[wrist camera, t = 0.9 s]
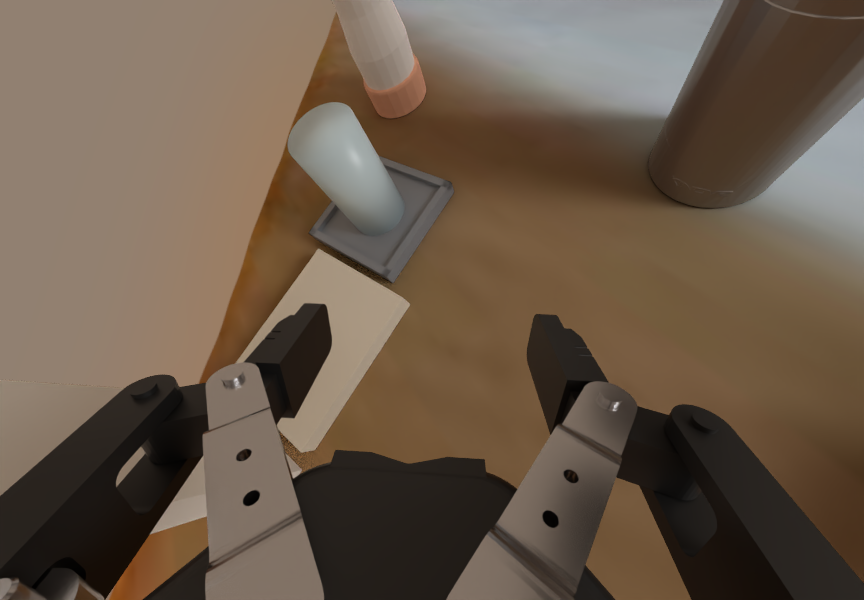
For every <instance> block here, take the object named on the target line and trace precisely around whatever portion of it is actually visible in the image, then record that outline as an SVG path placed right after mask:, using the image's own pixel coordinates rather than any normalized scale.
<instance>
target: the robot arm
mask: <svg viewBox="0 0 864 600" xmlns="http://www.w3.org/2000/svg"><path fill="white" fill-rule="evenodd" d="M863 98H864V0H724V1H723V3H722V5H721V7H720V9H719V11H718V13H717V15H716V18H715V20H714V22H713V24H712V26H711V28H710V30H709V32H708V34H707V36H706V39H705V41H704V43H703V45H702V47H701V49H700V51H699V53H698V55H697V57H696V60H695V62H694V64H693V66H692V68H691V70H690V72H689V74H688V76H687V78H686V81H685V83H684V85H683V87H682V89H681V91H680V93H679V95H678V97H677V99H676V102H675V104H674V106H673V108H672V110H671V112H670V114H669V116H668V118H667V120H666V122H665V124H664V126H663V128H662V130H661V133H660V135H659V137H658V139H657V141H656V143H655V145H654V147H653V149H652V152H651V154H650V158H649V172H650V175H651V178H652V180H653V181H654V183H655V184H656V186H657V187H658V188H659V189H660V190H661V191H662V192H663V193H665V194H666V195H668V196H669V197H671V198H673V199H674V200H677V201H679V202H682V203H684V204H687V205H692V206H697V207H704V208H721V207H730V206H734V205H738V204H742V203H744V202H746V201H749V200H751V199H753V198H755V197H756V196H758V195H759V194H761V193H762V192H763V191H765V190H766V189H767V188H768V187H769V186H770V185H771V184H772V183H773V182H774V181H775V180H776V179H777V178H778V177H780V176H781V175H782V174H783V173H784V172H785V171H786V170H787V169H788V168H789V167H790V166H791V165H792V164H793V163H794V162H795V161H796V160H798V159H799V158H800V157H801V156H802V155H803V154H804V153H805V152H806V151H807V150H809V149H810V148H811V147H812V146H813V145H814V144H815V143H816V142H817V141H818V140H819V139H820V138H821V137H822V136H823V135H824V134H825V133H827V132H828V131H829V130H830V129H831V128H832V127H833V126H834V125H835V124H836V123H837V122H838V121H839V120H840V119H841V118H842V117H844V116H845V115H846V114H847V113H848V112H849V111H850V110H851V109H852V108H853V107H854V106H855V105H856V104H857V103H858V102H859V101H861V100H862V99H863ZM331 346H332V334H331V328H330V322H329V316H328V310H327V307H326V305H325V304H316V303H304V304H303V305H302V306H301V307H300V309H299V310H298V311H297V312H296V314H295V315H289V316H288V317H286V318H284V319H283V320H281V321H279V322H278V323H277V324H276V325H275V327H274V328H273V329H272V330H271V332H269V333H268V335H267V336H266V337H265V339H263V340H262V342H261V343H260V344H259V345H258V346H257V347H256V348H255V350H254V351H253V352H252V353H251V354H250V355H249V356H248V358H247V359H246V360H245V361H244V362H243V363H236V364H232V365H229V366H226V367H224V368H222V369H220V370H218V371H217V372H215V373H214V374H213V375H212V376H211V377H210V378H209V379H208V381H207V383H202V384H196V385H190V386H184V387H179V386H178V384H177V382H176V380H175V378H174V377H172V376H170V375H155V376H150V377H147V378H144V379H141V380H139V381H137V382H134V383H132V384H131V385H129V386H127V387H126V388H124V389H123V390H122V391H120V392H119V393H118V394H117V395H116V396H115V397H113V398H112V399H111V400H110V401H109V402H108V403H107V404H105V405H104V406H103V407H102V408H101V409H100V410H98V411H97V412H96V413H95V414H94V415H93V416H92V417H90V418H89V419H88V420H87V421H86V422H85V423H84V424H82V425H81V426H80V427H79V428H78V429H77V430H75V431H74V432H73V433H72V434H71V435H70V436H69V437H67V438H66V439H65V440H64V441H63V442H62V443H60V444H59V445H58V446H57V447H56V448H55V449H54V450H52V451H51V452H50V453H49V454H48V455H47V456H46V457H44V458H43V459H42V460H41V461H40V462H39V463H37V464H36V465H35V466H34V467H33V468H32V469H31V470H29V471H28V472H27V473H26V474H25V475H24V476H22V477H21V478H20V479H19V480H18V481H17V482H16V483H14V484H13V485H12V486H11V487H10V488H9V489H8V490H6V491H5V492H4V493H3V494H2V495H1V496H0V600H105V599H106V598H107V596H108V595H109V593H110V592H111V590H112V589H113V587H114V586H115V584H116V583H117V581H118V580H119V579H120V577H121V576H122V574H123V573H124V571H125V570H126V568H127V567H128V565H129V564H130V562H131V561H132V559H133V558H134V557H135V555H136V554H137V552H138V551H139V549H140V548H141V546H142V545H143V543H144V542H145V540H146V539H147V537H148V536H149V534H150V533H151V532H152V530H153V529H154V527H155V526H156V524H157V523H158V521H159V520H160V518H161V517H162V515H163V514H164V512H165V511H166V509H167V508H168V507H169V505H170V504H171V502H172V501H173V499H174V498H175V496H176V495H177V493H178V492H179V490H180V489H181V487H182V486H183V485H184V483H185V482H186V480H187V479H188V477H189V476H190V474H191V473H192V471H193V470H194V468H195V467H196V465H197V464H198V462H199V461H200V460H201V458H202V457H203V455H204V472H205V489H206V507H207V524H208V541H209V546H208V547H207V548H206V549H205V550H203V551H202V552H201V553H200V554H198V555H197V556H196V557H195V558H193V559H192V560H191V561H190V562H189V563H187V564H186V565H185V566H184V567H182V568H181V569H180V570H179V571H177V572H176V573H175V574H174V575H172V576H171V577H170V578H169V579H168V580H166V581H165V582H164V583H163V584H161V585H160V586H159V587H158V588H156V589H155V590H154V591H153V592H151V593H150V594H149V595H148V596H147V597H145V598H144V599H143V600H615V599H614V598H613V596H612V595H611V594H610V593H609V592H608V591H607V589H606V588H605V587H604V586H603V585H602V584H601V583H600V581H599V580H598V579H597V578H596V577H595V576H594V575H593V573H592V572H591V571H590V570H589V569H588V568H587V566H586V565H585V564H586V561H587V558H588V556H589V553H590V550H591V547H592V544H593V541H594V538H595V536H596V533H597V530H598V527H599V524H600V521H601V519H602V516H603V513H604V510H605V507H606V504H607V501H608V499H609V496H610V493H611V490H612V487H613V484H614V481H615V479H616V477H617V478H620V479H623V480H626V481H628V482H631V483H634V484H637V485H639V486H640V488H641V490H642V492H643V494H644V497H645V499H646V501H647V503H648V505H649V508H650V510H651V512H652V514H653V516H654V519H655V521H656V523H657V525H658V527H659V529H660V532H661V534H662V536H663V538H664V540H665V543H666V545H667V547H668V549H669V551H670V554H671V556H672V558H673V560H674V562H675V564H676V567H677V569H678V571H679V573H680V575H681V578H682V580H683V582H684V584H685V586H686V589H687V591H688V593H689V595H690V597H691V599H692V600H864V583H863V582H862V581H861V580H860V579H859V577H858V576H857V575H856V574H855V573H854V571H853V570H852V569H851V568H850V567H849V566H848V564H847V563H846V562H845V561H844V560H843V558H842V557H841V556H840V555H839V554H838V553H837V551H836V550H835V549H834V548H833V547H832V546H831V544H830V543H829V542H828V541H827V540H826V538H825V537H824V536H823V535H822V534H821V533H820V531H819V530H818V529H817V528H816V527H815V525H814V524H813V523H812V522H811V521H810V520H809V518H808V517H807V516H806V515H805V514H804V512H803V511H802V510H801V509H800V508H799V507H798V505H797V504H796V503H795V502H794V501H793V499H792V498H791V497H790V496H789V495H788V494H787V492H786V491H785V490H784V489H783V488H782V487H781V485H780V484H779V483H778V482H777V481H776V479H775V478H774V477H773V476H772V475H771V474H770V472H769V471H768V470H767V469H766V468H765V466H764V465H763V464H762V463H761V462H760V461H759V459H758V458H757V457H756V456H755V455H754V453H753V452H752V451H751V450H750V449H749V448H748V446H747V445H746V444H745V443H744V442H743V440H742V439H741V438H740V437H739V436H738V435H737V433H736V432H735V431H734V430H733V429H732V428H731V427H730V425H729V424H727V423H726V422H725V421H724V420H723V419H721V418H720V417H718V416H717V415H715V414H713V413H712V412H710V411H708V410H705V409H703V408H700V407H697V406H693V405H684V404H683V405H678V406H675V407H674V408H673V409H672V411H671V413H670V415H666V414H662V413H659V412H655V411H652V410H648V409H645V408H642V407H639V406H637V404H636V402H635V400H634V399H633V397H632V396H631V395H630V394H629V393H627V392H626V391H625V390H623V389H622V388H620V387H618V386H616V385H613V384H611V383H609V382H608V381H607V379H606V377H605V376H604V374H603V372H602V371H601V369H600V367H599V366H598V364H597V362H596V361H595V359H594V357H592V354H591V352H590V351H589V349H587V346H586V344H585V342H584V341H583V339H582V338H581V337H580V336H579V335H578V334H577V333H575V332H574V331H573V330H572V329H565V328H564V327H563V325H562V323H561V322H560V320H559V318H558V316H557V315H545V314H536V315H535V316H534V318H533V323H532V328H531V332H530V337H529V342H528V347H527V361H528V365H529V368H530V372H531V375H532V378H533V381H534V384H535V387H536V391H537V394H538V397H539V400H540V403H541V406H542V409H543V413H544V416H545V419H546V422H547V425H548V428H549V432H550V435H551V436H550V437H549V439H548V440H547V442H546V444H545V445H544V447H543V449H542V450H541V452H540V454H539V455H538V457H537V458H536V460H535V462H534V463H533V465H532V467H531V468H530V470H529V471H528V473H527V475H526V476H525V478H524V480H523V481H522V483H521V484H520V486H519V488H518V489H516V488H515V487H514V486H512V485H511V484H510V483H508V482H506V481H505V480H503V479H501V478H499V477H497V476H495V475H493V474H490V473H487V472H486V469H485V459H470V458H454V457H445V458H440V459H434V460H429V461H423V462H418V463H412V464H407V463H403V462H400V461H397V460H394V459H391V458H388V457H385V456H382V455H378V454H375V453H372V452H359V451H343V450H335V453H334V456H333V459H332V462H331V463H326V464H323V465H319V466H316V467H314V468H312V469H309V470H307V471H305V472H303V473H301V474H299V475H298V476H296V477H295V478H293V477H292V473H291V470H290V467H289V463H288V460H287V457H286V453H285V450H284V447H283V443H282V440H281V437H280V434H279V430H278V427H277V424H278V422H279V421H280V419H281V418H295V417H296V415H297V413H298V411H299V409H300V407H301V405H302V404H303V402H304V400H305V398H306V396H307V394H308V392H309V390H310V389H311V387H312V385H313V383H314V381H315V379H316V377H317V375H318V374H319V372H320V370H321V368H322V366H323V364H324V362H325V360H326V359H327V357H328V355H329V353H330V350H331ZM140 447H142V449H143V450H144V452H145V454H144V456H143V457H142V458H141V459H140V460H139V461H138V463H137V464H136V465H135V466H134V467H133V468H132V470H131V471H130V472H129V473H128V474H127V475H126V477H125V478H124V479H123V480H122V481H121V482H120V483H119V485H118V486H117V487H116V480H117V476H118V474H119V472H120V470H121V469H122V467H123V466H124V465H125V464H126V463H127V461H128V460H129V459H130V458H131V457H132V456H133V455H134V454H135V452H136V451H137V450H138V449H139V448H140ZM704 495H705V496H704Z"/></svg>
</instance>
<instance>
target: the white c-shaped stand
mask: <svg viewBox="0 0 864 600" xmlns="http://www.w3.org/2000/svg"><path fill="white" fill-rule="evenodd" d="M304 303H316V304H325V305H326V307H327V310H328V316H329V322H330V328H331V334H332V346H331V350H330V353H329V355H328V357H327V359H326V360H325V362H324V364H323V366H322V368H321V370H320V372H319V374H318V375H317V377H316V379H315V381H314V383H313V385H312V387H311V389H310V390H309V392H308V394H307V396H306V398H305V400H304V402H303V404H302V405H301V407H300V409H299V411H298V413H297V415H296V417H295V418H281V419H280V421H279V422H278V424H277V427H278V430H279V431H280V432H281V433H282V434H283V435H284V436H285V437H286V438H287V439H288V440H289V441H290V442H291V443H292V444H293V445H294V446H295V447H296V448H297V449H298V450H299V451H300V452H307V451H313V450H316V448H317V446H318V445H319V443H320V442H321V440H322V439H323V437H324V436H325V434H326V433H327V431H328V430H329V428H330V427H331V425H332V424H333V422H334V420H335V419H336V417H337V416H338V414H339V413H340V411H341V410H342V408H343V407H344V405H345V404H346V402H347V401H348V399H349V398H350V396H351V394H352V393H353V391H354V390H355V388H356V387H357V385H358V384H359V382H360V381H361V379H362V378H363V376H364V375H365V373H366V372H367V370H368V368H369V367H370V365H371V364H372V362H373V361H374V359H375V358H376V356H377V355H378V353H379V352H380V350H381V349H382V347H383V346H384V344H385V342H386V341H387V339H388V338H389V336H390V335H391V333H392V332H393V330H394V329H395V327H396V326H397V324H398V323H399V321H400V320H401V318H402V316H403V315H404V313H405V312H406V310H407V309H408V307H409V306H410V304H409V303H408V302H407V301H406V300H405V299H404V298H403V297H401V296H399V295H397V294H396V293H394V292H392V291H391V290H389V289H387V288H385V287H384V286H382V285H380V284H379V283H377V282H375V281H373V280H372V279H370V278H368V277H367V276H365V275H363V274H361V273H360V272H358V271H356V270H355V269H353V268H351V267H349V266H348V265H346V264H344V263H342V262H341V261H339V260H337V259H336V258H334V257H332V256H330V255H329V254H327V253H325V252H324V251H322V250H320V249H318V250H317V251H316V253H315V254H314V255H313V257H312V258H311V260H310V261H309V262H308V264H307V265H306V267H305V268H304V269H303V271H302V272H301V273H300V275H299V276H298V278H297V279H296V280H295V282H294V283H293V284H292V286H291V287H290V289H289V290H288V291H287V293H286V294H285V295H284V297H283V298H282V300H281V301H280V302H279V304H278V305H277V307H276V308H275V309H274V311H273V312H272V313H271V315H270V316H269V318H268V319H267V320H266V322H265V323H264V324H263V326H262V327H261V329H260V330H259V331H258V333H257V334H256V336H255V337H254V338H253V340H252V341H251V342H250V344H249V345H248V347H247V348H246V349H245V351H244V352H243V353H242V355H241V356H240V358H239V359H238V360H237V362H236V363H243V362H244V361H245V360H246V359H247V358H248V356H249V355H250V354H251V353H252V352H253V351H254V350H255V348H256V347H257V346H258V345H259V344H260V343H261V342H262V340H263V339H265V337H266V336H267V335H268V333H269V332H271V330H272V329H273V328H274V327H275V325H276V324H277V323H278V322H279V321H281V320H283V319H284V318H286V317H288V316H289V315H295V314H296V312H297V311H298V310H299V309H300V307H301V306H302V305H303V304H304ZM236 363H235V364H236ZM123 389H124V388H116V387H102V386H87V385H72V384H71V385H70V384H57V383H42V382H27V381H26V382H25V381H12V380H0V496H1V495H2V494H3V493H4V492H5V491H6V490H8V489H9V488H10V487H11V486H12V485H13V484H14V483H16V482H17V481H18V480H19V479H20V478H21V477H22V476H24V475H25V474H26V473H27V472H28V471H29V470H31V469H32V468H33V467H34V466H35V465H36V464H37V463H39V462H40V461H41V460H42V459H43V458H44V457H46V456H47V455H48V454H49V453H50V452H51V451H52V450H54V449H55V448H56V447H57V446H58V445H59V444H60V443H62V442H63V441H64V440H65V439H66V438H67V437H69V436H70V435H71V434H72V433H73V432H74V431H75V430H77V429H78V428H79V427H80V426H81V425H82V424H84V423H85V422H86V421H87V420H88V419H89V418H90V417H92V416H93V415H94V414H95V413H96V412H97V411H98V410H100V409H101V408H102V407H103V406H104V405H105V404H107V403H108V402H109V401H110V400H111V399H112V398H113V397H115V396H116V395H117V394H118V393H119V392H120V391H122V390H123ZM144 454H145V452H144V450H143V449H142V447H140V448H139V449H138V450H137V451H136V452H135V454H134V455H133V456H132V457H131V458H130V459H129V460H128V461H127V463H126V464H125V465H124V466H123V467H122V469H121V470H120V472H119V474H118V476H117V480H116V487H117V486H118V485H119V483H120V482H121V481H122V480H123V479H124V478H125V477H126V475H127V474H128V473H129V472H130V471H131V470H132V468H133V467H134V466H135V465H136V464H137V463H138V461H139V460H140V459H141V458H142V457H143V456H144ZM286 457H287V460H288V463H289V467H290V470H291V473H292V477H293V478H295V477H296V476H298V475H299V474H300V472H301V471H302V469H301V468H300V467H299V466H298V465H297V464H296V463H295V462H294V461H293V460H292V459H291V458H290V457H289V456H288V455H287V454H286ZM206 516H207V507H206V489H205V472H204V455H203V457H202V458H201V460H200V461H199V462H198V464H197V465H196V467H195V468H194V470H193V471H192V473H191V474H190V476H189V477H188V479H187V480H186V482H185V483H184V485H183V486H182V487H181V489H180V490H179V492H178V493H177V495H176V496H175V498H174V499H173V501H172V502H171V504H170V505H169V507H168V508H167V509H166V511H165V512H164V514H163V515H162V517H161V518H160V520H159V521H158V523H157V524H156V526H155V527H154V529H153V530H152V532H151V533H150V534H152V533H155V532H159V531H162V530H165V529H168V528H171V527H174V526H178V525H181V524H184V523H187V522H190V521H193V520H196V519H200V518H203V517H206Z"/></svg>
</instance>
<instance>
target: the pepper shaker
mask: <svg viewBox="0 0 864 600" xmlns="http://www.w3.org/2000/svg"><path fill="white" fill-rule="evenodd" d="M331 1H332V3H333V5H334V7H335V9H336V11H337V13H338V16H339V19H340V22H341V25H342V28H343V31H344V35H345V38H346V41H347V44H348V47H349V50H350V53H351V55H352V57H353V59H354V61H355V63H356V65H357V67H358V69H359V71H360V72H361V74H362V76H363V82H364V88H365V90H366V92H367V94H368V96H369V98H370V100H371V102H372V104H373V106H374V108H375V110H376V111H377V113H378V114H379V115H380V116H382V117H385V118H398V117H401V116H404V115H407V114H408V113H410V112H412V111H413V110H415V109H416V108H417V107H418V106H419V105H420V104H421V102H422V101H423V99H424V97H425V94H426V85H425V81H424V78H423V75H422V72H421V68H420V65H419V62H418V59H417V58H416V56H415V55H414V54H413V53H412V50H411V47H410V43H409V40H408V36H407V33H406V29H405V26H404V24H403V22H402V20H401V18H400V16H399V14H398V11H397V9H396V7H395V5H394V3H393V1H392V0H331Z"/></svg>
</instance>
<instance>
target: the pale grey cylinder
mask: <svg viewBox="0 0 864 600" xmlns="http://www.w3.org/2000/svg"><path fill="white" fill-rule="evenodd" d="M288 150H289V153H290V155H291V156H292V157H293V158H294V159H295V161H296V162H297V163H298V164H299V165H300V166H301V167H302V168H303V169H304V170H305V172H306V173H307V174H308V175H309V176H310V177H311V178H312V179H313V180H314V181H315V183H316V184H317V185H318V186H319V187H320V188H321V189H322V190H323V191H324V192H325V194H326V195H327V196H328V197H329V198H330V199H331V200H332V201H333V202H334V203H335V205H336V206H337V207H338V208H339V209H340V210H341V211H342V212H343V213H344V214H345V216H346V217H347V218H348V219H349V220H350V221H351V222H352V223H353V224H354V225H355V227H356V228H357V229H358V230H359V231H360V232H362V233H363V234H365V235H369V236H378V235H382V234H384V233H387V232H389V231H390V230H392V229H393V228H394V227H395V226H396V225H397V224H398V223H399V221H400V220H401V218H402V216H403V213H404V201H403V198H402V197H401V195H400V193H399V191H398V190H397V188H396V186H395V184H394V183H393V181H392V179H391V177H390V176H389V174H388V172H387V170H386V169H385V167H384V165H383V163H382V162H381V160H380V158H379V156H378V155H377V153H376V151H375V149H374V148H373V146H372V144H371V142H370V141H369V139H368V137H367V135H366V134H365V132H364V130H363V128H362V127H361V125H360V123H359V121H358V120H357V118H356V116H355V115H354V113H353V111H352V110H351V108H350V107H349V106H347V105H346V104H343V103H339V102H330V103H326V104H322V105H320V106H317V107H315V108H313V109H312V110H310V111H309V112H307V113H306V114H305V115H304V116H302V117H301V118H300V119H299V120H298V122H297V123H296V124H295V126H294V127H293V129H292V130H291V133H290V135H289V138H288Z"/></svg>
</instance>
